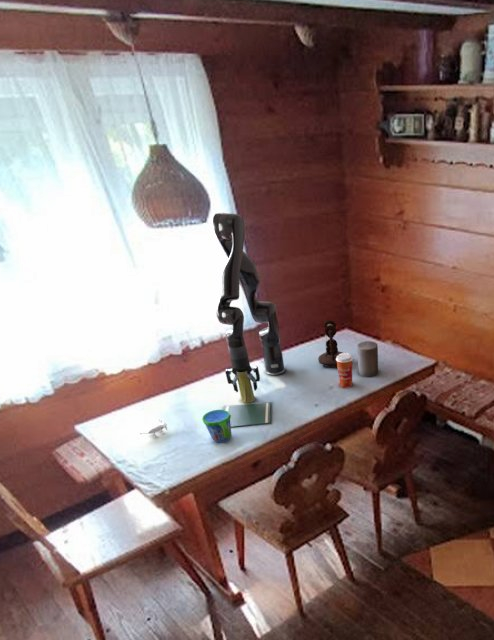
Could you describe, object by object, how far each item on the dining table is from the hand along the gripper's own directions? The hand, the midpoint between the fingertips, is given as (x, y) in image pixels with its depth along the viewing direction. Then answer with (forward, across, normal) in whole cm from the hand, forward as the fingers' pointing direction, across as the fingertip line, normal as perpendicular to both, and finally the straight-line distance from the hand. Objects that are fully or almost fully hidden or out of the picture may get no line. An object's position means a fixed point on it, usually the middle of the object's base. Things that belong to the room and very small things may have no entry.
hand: (246, 390), depth 226 cm
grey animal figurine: (+5, +36, +24) cm, 43 cm away
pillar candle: (+5, -57, -17) cm, 60 cm away
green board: (+5, 0, +14) cm, 15 cm away
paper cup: (+5, -45, -6) cm, 46 cm away
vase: (+5, 0, 0) cm, 5 cm away
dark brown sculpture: (+5, -41, -32) cm, 52 cm away
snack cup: (+5, +9, +31) cm, 33 cm away
